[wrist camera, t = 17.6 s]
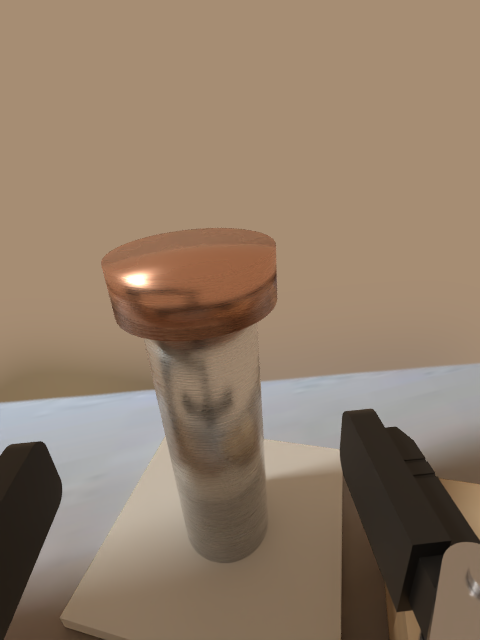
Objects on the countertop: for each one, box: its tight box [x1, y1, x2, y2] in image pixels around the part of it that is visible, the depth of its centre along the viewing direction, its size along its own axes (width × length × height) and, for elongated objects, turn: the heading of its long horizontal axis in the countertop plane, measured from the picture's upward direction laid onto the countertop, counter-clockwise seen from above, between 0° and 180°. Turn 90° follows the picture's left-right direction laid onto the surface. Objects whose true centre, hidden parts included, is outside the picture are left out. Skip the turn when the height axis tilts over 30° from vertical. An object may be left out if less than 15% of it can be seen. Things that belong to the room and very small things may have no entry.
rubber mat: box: [60, 436, 343, 640], centre depth 20 cm, size 12×12×1 cm
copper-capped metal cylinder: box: [101, 228, 277, 563], centre depth 16 cm, size 6×6×15 cm
